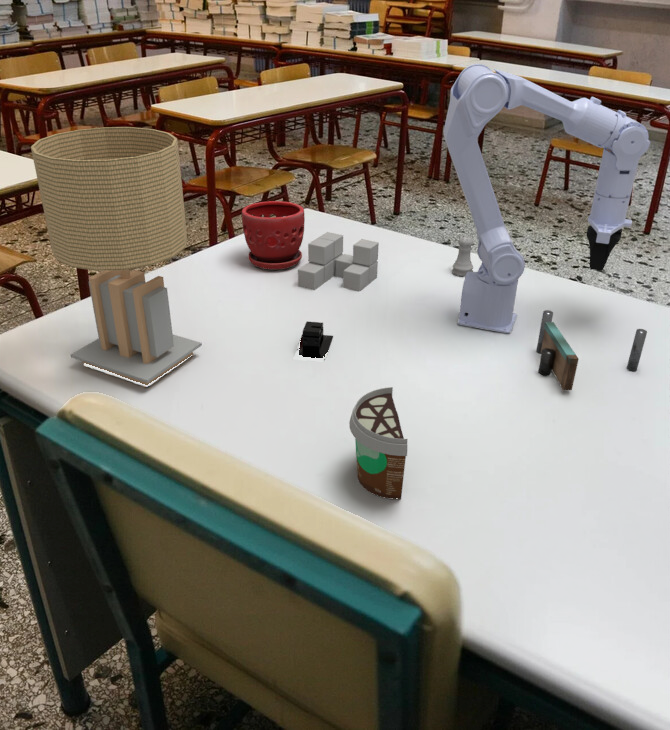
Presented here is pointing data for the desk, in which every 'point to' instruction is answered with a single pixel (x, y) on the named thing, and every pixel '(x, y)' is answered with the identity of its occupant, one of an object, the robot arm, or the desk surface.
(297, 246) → the plant pot
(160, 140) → the desk lamp
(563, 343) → the open box
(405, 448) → the food container
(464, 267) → the rook chess piece
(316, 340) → the black stepped block
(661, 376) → the desk surface
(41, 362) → the desk surface
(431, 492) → the desk surface
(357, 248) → the grey cube structure
